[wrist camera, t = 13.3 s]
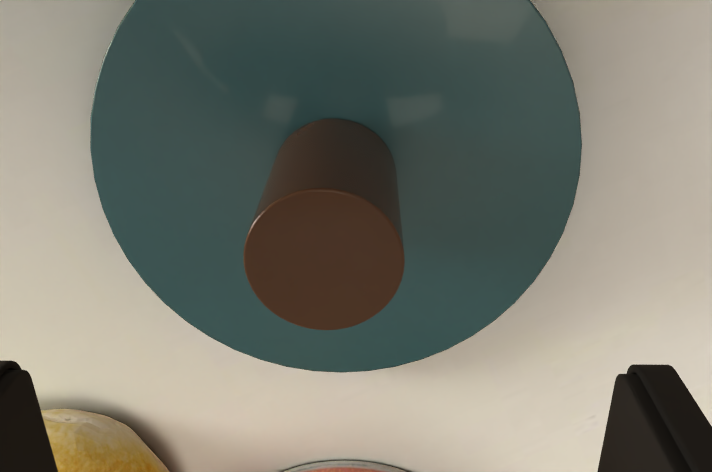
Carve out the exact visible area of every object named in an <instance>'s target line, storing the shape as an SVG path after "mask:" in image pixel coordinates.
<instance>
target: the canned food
mask: <svg viewBox="0 0 712 472" xmlns="http://www.w3.org/2000/svg"><path fill="white" fill-rule="evenodd" d="M283 472H406V471H404V470H401V469H398V468H394V467H391V466H387V465H382V464H377V463H371V462H363V461H326V462H318V463H312V464H307V465H303V466H299V467H295V468H292V469H289V470H286V471H283Z"/></svg>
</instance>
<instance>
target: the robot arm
mask: <svg viewBox="0 0 712 472" xmlns="http://www.w3.org/2000/svg"><path fill="white" fill-rule="evenodd" d="M0 472H58V469H57V466H56V462H55V459H54V455H53V452H52V448H51V445H50V441H49V438H48V434H47V431H46V427H45V424H44V420H43V417H42V413H41V410H40V407H39V403H38V400H37V396H36V393H35V389H34V386H33V382H32V379H31V376H30V374H29V373H28V372H27V371H26V370H21V368H20V366H19V365H18V364H17V363H16V362H14V361H0ZM598 472H712V427H711V425H710V423H709V422H708V420H707V419H706V417H705V416H704V414H703V413H702V411H701V409H700V408H699V406H698V405H697V403H696V402H695V400H694V399H693V397H692V395H691V394H690V392H689V391H688V389H687V388H686V386H685V384H684V383H683V381H682V380H681V378H680V377H679V375H678V374H677V372H676V371H675V369H674V368H673V367H672V366H670V365H631V366H630V367H629V369H628V371H627V374H619V375H618V376H617V377H616V381H615V385H614V390H613V395H612V401H611V406H610V411H609V416H608V421H607V426H606V431H605V437H604V442H603V447H602V452H601V457H600V462H599V467H598Z"/></svg>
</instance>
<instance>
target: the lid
mask: <svg viewBox="0 0 712 472" xmlns="http://www.w3.org/2000/svg"><path fill="white" fill-rule="evenodd" d="M581 149H582V139H581V124H580V112H579V107H578V103H577V98H576V93H575V89H574V84H573V80H572V78H571V75H570V72H569V69H568V67H567V64H566V61H565V59H564V56H563V53H562V51H561V49H560V47H559V45H558V43H557V41H556V40H555V38H554V36H553V34H552V32H551V30H550V28H549V27H548V25H547V23H546V21H545V20H544V18H543V17H542V16H541V14H540V13H539V12H538V10H537V9H536V8H535V6H534V5H533V4H532V2H531V1H530V0H135V2H134V3H133V5H132V6H131V8H130V9H129V11H128V12H127V14H126V15H125V17H124V18H123V20H122V21H121V23H120V24H119V26H118V28H117V30H116V32H115V34H114V36H113V39H112V41H111V43H110V45H109V47H108V49H107V51H106V54H105V56H104V59H103V62H102V66H101V69H100V72H99V76H98V79H97V82H96V86H95V92H94V98H93V105H92V112H91V156H92V163H93V171H94V178H95V182H96V186H97V190H98V193H99V197H100V201H101V204H102V208H103V210H104V213H105V215H106V217H107V220H108V222H109V225H110V227H111V229H112V232H113V234H114V236H115V238H116V240H117V241H118V243H119V245H120V247H121V248H122V250H123V252H124V253H125V255H126V257H127V259H128V260H129V262H130V263H131V264H132V266H133V267H134V268H135V270H136V271H137V272H138V274H139V275H140V276H141V278H142V279H143V280H144V282H145V283H146V284H147V285H148V286H149V287H150V288H151V289H152V290H153V291H154V292H155V293H156V295H157V296H158V297H159V298H160V299H161V300H162V301H163V302H164V303H165V304H166V305H167V306H169V307H170V308H171V309H172V310H173V311H175V312H176V313H177V314H178V315H179V316H181V317H182V318H183V319H184V320H185V321H187V322H188V323H190V324H191V325H193V326H194V327H196V328H197V329H199V330H200V331H202V332H203V333H205V334H206V335H208V336H209V337H211V338H213V339H215V340H217V341H219V342H221V343H223V344H225V345H227V346H228V347H230V348H232V349H234V350H237V351H239V352H242V353H245V354H247V355H250V356H252V357H255V358H258V359H260V360H264V361H268V362H271V363H275V364H279V365H282V366H286V367H292V368H298V369H305V370H311V371H325V372H357V371H371V370H377V369H383V368H390V367H396V366H399V365H403V364H407V363H410V362H414V361H417V360H421V359H424V358H426V357H429V356H431V355H434V354H436V353H439V352H442V351H444V350H447V349H449V348H450V347H452V346H454V345H456V344H458V343H460V342H462V341H464V340H466V339H467V338H469V337H471V336H473V335H474V334H476V333H477V332H478V331H480V330H481V329H483V328H484V327H486V326H487V325H489V324H490V323H492V322H493V321H494V320H496V319H497V318H498V317H499V316H500V315H501V314H502V313H504V312H505V311H506V310H507V309H508V308H509V307H510V306H512V305H513V304H514V303H515V302H516V301H517V300H518V299H519V297H520V296H521V295H522V294H523V293H524V292H525V291H526V290H527V288H528V287H529V286H530V285H531V284H532V283H533V282H534V280H535V279H536V277H537V276H538V275H539V273H540V272H541V270H542V269H543V267H544V266H545V265H546V263H547V262H548V260H549V259H550V257H551V255H552V253H553V251H554V249H555V247H556V245H557V243H558V242H559V240H560V238H561V236H562V234H563V232H564V229H565V226H566V223H567V221H568V218H569V215H570V212H571V209H572V207H573V204H574V199H575V194H576V190H577V185H578V180H579V176H580V163H581Z"/></svg>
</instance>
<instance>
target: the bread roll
mask: <svg viewBox="0 0 712 472" xmlns="http://www.w3.org/2000/svg"><path fill="white" fill-rule="evenodd" d="M41 413H42V417H43V420H44V424H45V427H46V431H47V434H48V438H49V441H50V445H51V448H52V452H53V455H54V459H55V462H56V466H57V469H58V472H170V471H169V470H168V469H167V468H166V466H165V465H164V464H163V463H162V462H161V461H160V460H159V458H158V457H157V456H156V455H155V454H154V453H153V452H152V451H151V450H150V449H149V448H148V447H147V446H146V444H145V443H144V442H143V441H142V440H141V439H140V437H139V436H138V435H137V434H136V433H135V432H134V431H133V430H132V429H131V428H130V427H128V426H127V425H125V424H123V423H121V422H119V421H116V420H114V419H112V418H110V417H108V416H105V415H101V414H97V413H91V412H86V411H80V410H74V409H51V410H44V411H41Z"/></svg>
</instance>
